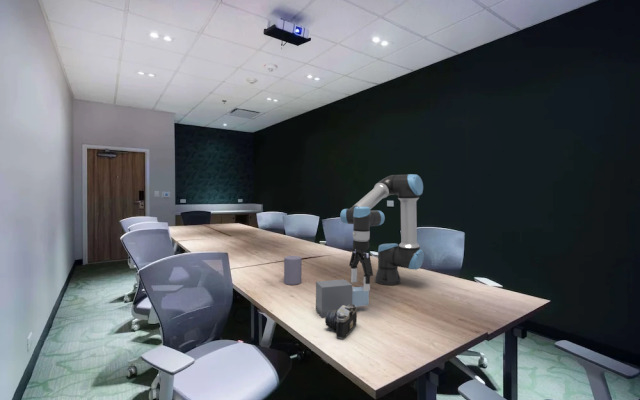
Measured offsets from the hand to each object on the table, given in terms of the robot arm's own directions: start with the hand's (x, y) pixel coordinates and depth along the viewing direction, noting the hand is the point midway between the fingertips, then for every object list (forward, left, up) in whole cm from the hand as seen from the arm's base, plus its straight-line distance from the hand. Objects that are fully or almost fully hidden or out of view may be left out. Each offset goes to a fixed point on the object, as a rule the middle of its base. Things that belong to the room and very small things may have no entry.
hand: (360, 286), depth 139 cm
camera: (+16, +16, -11) cm, 26 cm away
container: (+21, -49, -11) cm, 54 cm away
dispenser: (+13, 0, -11) cm, 17 cm away
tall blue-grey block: (+6, 0, -8) cm, 10 cm away
